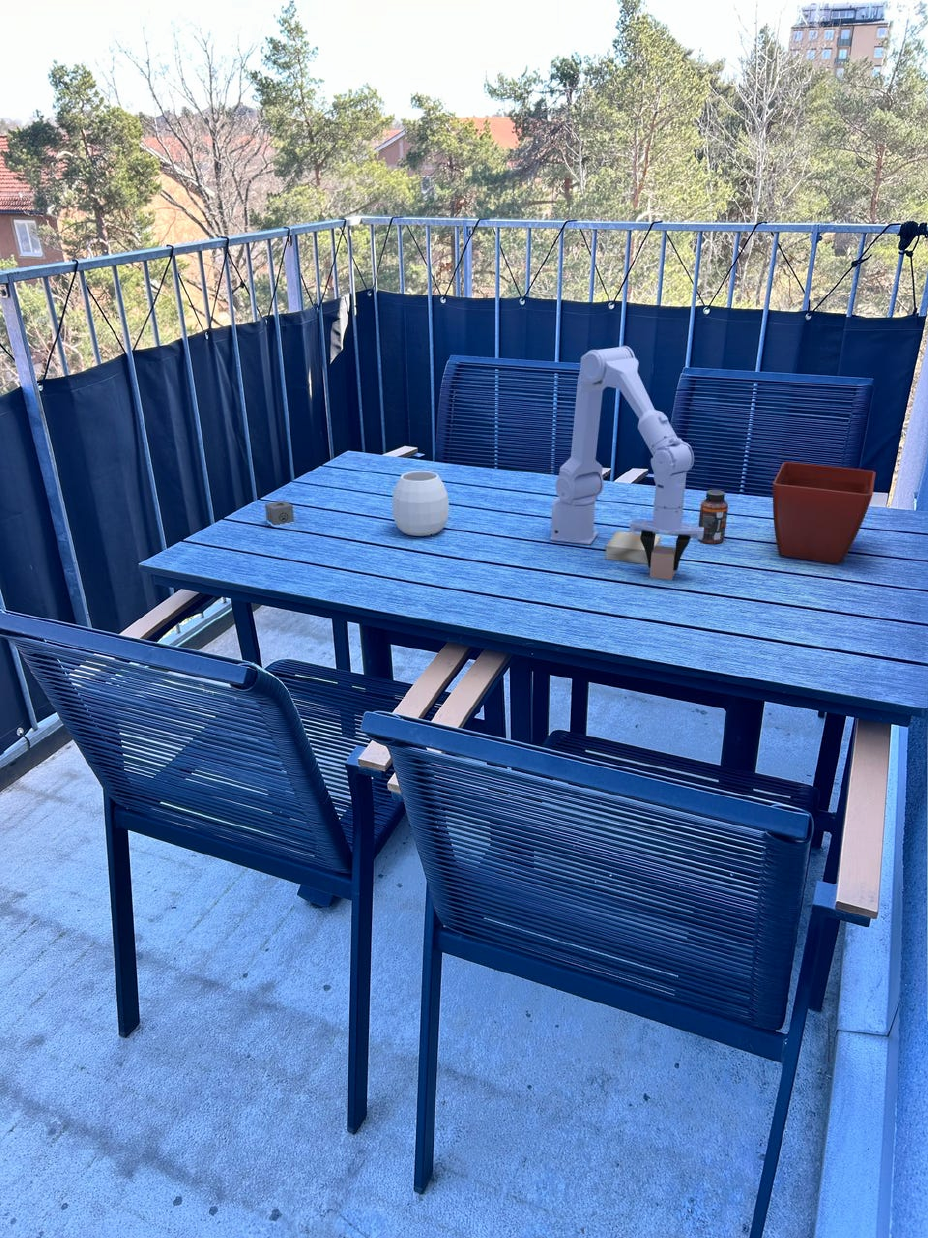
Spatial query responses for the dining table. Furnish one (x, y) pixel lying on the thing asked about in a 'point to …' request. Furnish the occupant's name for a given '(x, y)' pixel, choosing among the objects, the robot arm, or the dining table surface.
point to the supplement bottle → (713, 517)
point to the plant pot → (819, 509)
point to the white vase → (420, 503)
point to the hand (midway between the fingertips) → (663, 567)
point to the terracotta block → (662, 562)
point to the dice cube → (279, 512)
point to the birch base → (628, 547)
